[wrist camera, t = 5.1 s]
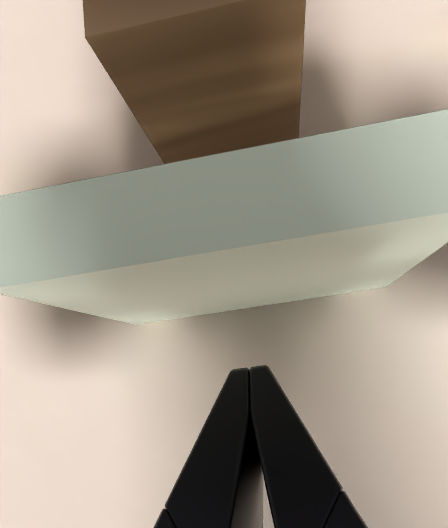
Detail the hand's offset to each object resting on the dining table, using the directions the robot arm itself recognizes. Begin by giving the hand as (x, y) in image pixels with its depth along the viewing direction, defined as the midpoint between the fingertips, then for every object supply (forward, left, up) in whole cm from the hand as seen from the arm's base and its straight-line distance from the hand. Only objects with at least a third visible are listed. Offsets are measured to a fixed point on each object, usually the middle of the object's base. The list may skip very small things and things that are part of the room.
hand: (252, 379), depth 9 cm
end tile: (+3, +1, -7) cm, 8 cm away
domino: (+9, +2, -7) cm, 11 cm away
